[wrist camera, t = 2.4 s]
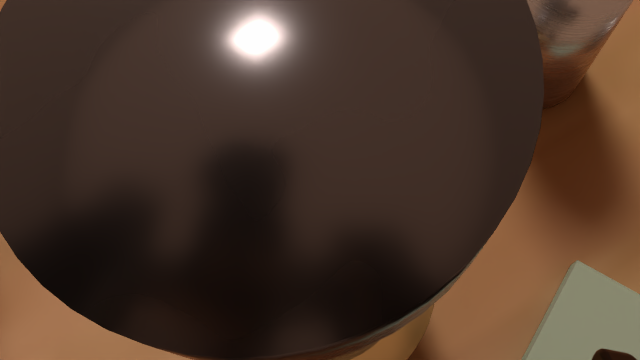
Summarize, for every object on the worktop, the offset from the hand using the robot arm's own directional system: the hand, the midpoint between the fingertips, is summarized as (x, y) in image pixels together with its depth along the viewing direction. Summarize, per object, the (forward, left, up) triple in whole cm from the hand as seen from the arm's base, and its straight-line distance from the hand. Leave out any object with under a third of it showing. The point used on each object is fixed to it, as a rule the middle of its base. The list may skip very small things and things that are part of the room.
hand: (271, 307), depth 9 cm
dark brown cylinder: (+1, +1, -9) cm, 9 cm away
